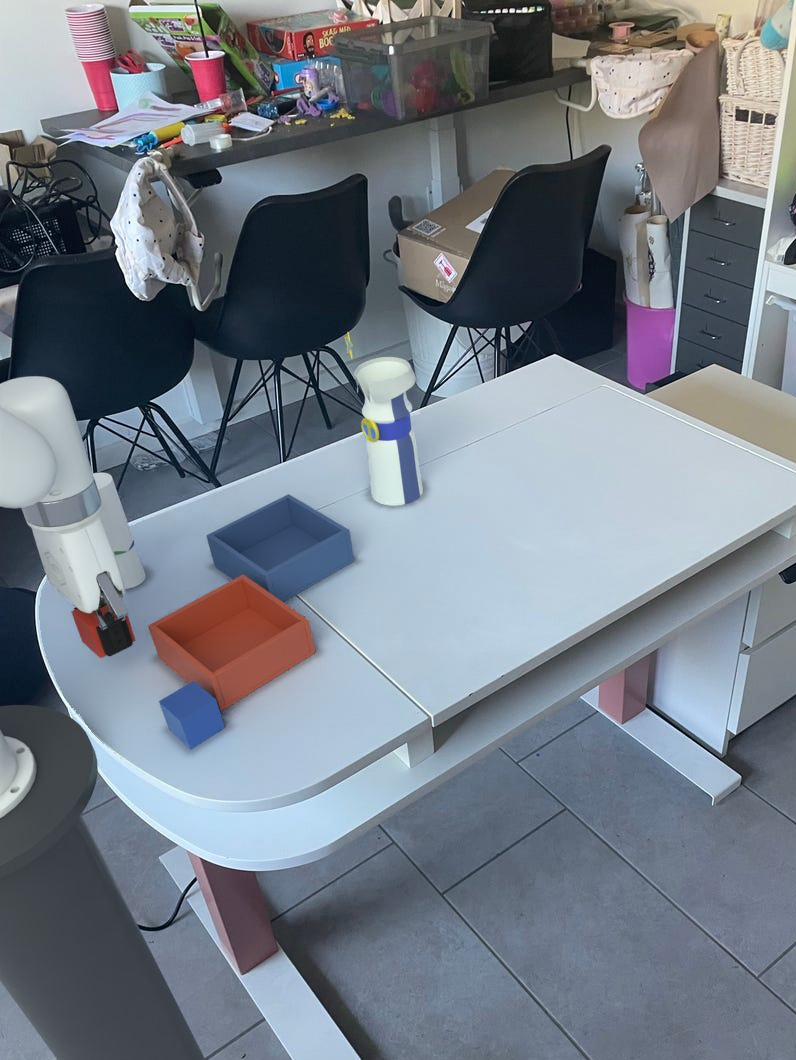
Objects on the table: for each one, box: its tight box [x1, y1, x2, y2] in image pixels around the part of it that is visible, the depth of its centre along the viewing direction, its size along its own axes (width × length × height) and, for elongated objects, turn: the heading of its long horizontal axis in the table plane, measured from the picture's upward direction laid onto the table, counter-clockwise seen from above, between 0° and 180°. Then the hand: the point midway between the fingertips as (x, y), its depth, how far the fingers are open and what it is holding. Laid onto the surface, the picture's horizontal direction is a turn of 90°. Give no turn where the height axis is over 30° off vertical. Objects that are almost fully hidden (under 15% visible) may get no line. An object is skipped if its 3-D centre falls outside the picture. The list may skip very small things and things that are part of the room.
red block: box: [70, 596, 137, 659], centre depth 106 cm, size 4×4×4 cm
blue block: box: [158, 681, 226, 750], centre depth 102 cm, size 4×4×4 cm
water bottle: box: [344, 331, 424, 507], centre depth 130 cm, size 8×9×25 cm
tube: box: [92, 472, 147, 590], centre depth 120 cm, size 4×4×15 cm
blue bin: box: [205, 493, 355, 603], centre depth 125 cm, size 13×13×5 cm
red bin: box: [147, 575, 317, 712], centre depth 111 cm, size 13×13×5 cm
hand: (108, 639), depth 107 cm, fingers closed on red block, 4 cm apart
